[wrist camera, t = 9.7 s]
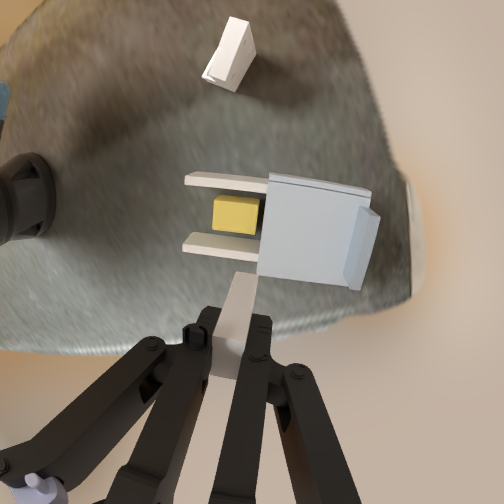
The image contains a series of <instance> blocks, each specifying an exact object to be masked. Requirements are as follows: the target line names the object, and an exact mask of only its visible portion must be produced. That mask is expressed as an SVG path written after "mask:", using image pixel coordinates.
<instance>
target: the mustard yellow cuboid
mask: <svg viewBox="0 0 504 504" xmlns="http://www.w3.org/2000/svg"><path fill="white" fill-rule="evenodd" d="M259 204H260V199H256V198H248V197H239V196H230V195H221V194H220V195H219V196H218V197H217V198H216V199H215V200H214V210H213V225H212V229H213V230H222V231H230V232H238V233H246V234H253V235H255V232H256V228H257V221H258V212H259Z"/></svg>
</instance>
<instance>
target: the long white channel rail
mask: <svg viewBox="0 0 504 504" xmlns="http://www.w3.org/2000/svg"><path fill="white" fill-rule="evenodd" d="M268 181H269V179H266V178H258V177H250V176H242V175H232V174H223V173H212V172H200V171H195V172H193V173H191V174H188V175H186V176H185V185H194V186H204V187H214V188H224V189H233V190H242V191H250V192H258V193H266V194H267V188H268ZM271 181H272V180H271ZM278 182H279V181H278ZM285 183H286V182H285ZM292 184H293V183H292ZM298 185H299V184H298ZM305 186H306V185H305ZM311 187H312V186H311ZM317 188H318V187H317ZM323 189H324V188H323ZM328 190H329V189H328ZM334 191H335V190H334ZM339 192H340V191H339ZM350 194H351V193H350ZM355 195H356V194H355ZM260 242H261V240H253V239H246V238H238V237H231V236H223V235H215V234H208V233H200V232H192V233H191V234H190V235H189V237H188V238H187V239H186V240H185V241H184V243H183V245H182V252H189V253H196V254H203V255H210V256H217V257H225V258H232V259H239V260H246V261H254V262H258V257H259V249H260Z"/></svg>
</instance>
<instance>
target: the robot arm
mask: <svg viewBox="0 0 504 504" xmlns="http://www.w3.org/2000/svg"><path fill="white" fill-rule="evenodd" d="M9 98H10V87H9V85H8V84H7V83H6V82H4V81H1V80H0V139H1V134H2V129H3V125H4V121H5V120H6V111H7V107H8V102H9ZM55 204H56V197H55V188H54V183H53V179H52V176H51V173H50V170H49V168H48V166H47V165H46V163H45V162H44V160H43V159H42V158H41V157H40V156H38V155H37V154H35V153H24V154H20V155H17V156H15V157H14V158H12V159H11V160H9V161H8V162H7V163H5V164H4V165H3V166H1V167H0V246H1V245H3V244H4V243H6V242H8V241H11V240H21V239H31V238H35V237H37V236H39V235H41V234H42V233H44V232H45V231H46V230H47V229H48V228H49V227H50V225H51V223H52V220H53V217H54V213H55ZM258 278H259V275H255V274H249V273H244V272H238V271H236V273H235V276H234V278H233V281H232V284H231V286H230V289H229V292H228V295H227V297H226V300H225V303H224V305H223V308H217V307H211V306H207V307H206V308H204V309H203V310H202V311H201V313H200V315H199V317H198V320H197V322H196V323H193V324H189V325H187V326H185V327H184V328H183V329H182V330H183V343H181V344H175V345H166V344H165V342H164V340H162V339H161V338H159V337H156V336H149V337H145V338H143V339H142V340H141V341H139V342H138V343H137V344H136V345H135V346H134V347H133V348H132V349H130V350H129V351H128V352H127V353H126V354H125V355H124V356H123V357H121V358H120V359H119V360H118V361H117V362H116V363H115V364H114V365H113V366H111V367H110V368H109V369H108V370H107V371H106V372H105V373H104V374H102V375H101V376H100V377H99V378H98V379H97V380H96V381H95V382H94V383H93V384H91V385H90V386H89V387H88V388H87V389H86V390H85V391H84V392H83V393H82V394H80V395H79V396H78V397H77V398H76V399H75V400H74V401H73V402H71V403H70V404H69V405H68V406H67V407H66V408H65V409H64V410H63V411H62V412H61V413H59V414H58V415H57V416H56V417H55V418H54V419H53V420H52V421H51V422H50V423H49V424H47V425H46V426H45V427H44V428H43V429H42V430H41V431H40V432H39V433H38V434H37V435H36V436H34V437H33V438H32V439H31V440H29V441H26V442H24V443H21V444H18V445H15V446H12V447H10V448H7V449H4V450H1V451H0V481H2V482H3V483H5V484H6V485H7V486H9V488H10V490H11V492H12V494H13V496H14V498H15V500H16V502H17V504H68V495H67V492H69V491H71V490H72V489H74V488H75V487H77V486H78V485H80V484H81V483H82V482H83V481H84V480H85V479H86V478H87V477H88V476H89V475H90V473H91V472H92V471H93V470H94V469H95V468H96V467H97V466H98V464H99V463H100V462H101V461H102V460H103V459H104V458H105V457H106V456H107V455H108V453H109V452H110V451H111V450H112V449H113V448H114V447H115V446H116V444H117V443H118V442H119V441H120V440H121V439H122V438H123V436H124V435H125V434H126V433H127V432H128V431H129V430H130V428H131V427H132V426H133V425H134V424H135V423H136V422H137V420H138V419H139V418H140V417H141V416H142V415H143V414H144V412H145V411H146V410H147V409H148V408H149V407H150V406H151V404H152V403H153V402H154V401H155V400H156V401H155V403H154V405H153V407H152V410H151V412H150V414H149V416H148V418H147V421H146V423H145V425H144V428H143V430H142V432H141V434H140V436H139V439H138V441H137V443H136V445H135V448H134V450H133V452H132V455H131V457H130V459H129V461H128V463H127V464H126V465H124V466H122V467H121V468H120V469H119V470H118V472H117V474H116V477H115V479H114V481H113V483H112V486H111V488H110V490H109V493H108V495H107V497H106V499H103V500H101V501H98V502H95V503H93V504H173V497H174V492H175V489H176V486H177V483H178V479H179V476H180V473H181V470H182V466H183V463H184V460H185V456H186V453H187V450H188V447H189V443H190V440H191V437H192V434H193V430H194V427H195V424H196V420H197V417H198V414H199V411H200V407H201V404H202V401H203V398H204V395H205V391H206V388H207V385H208V376H209V373H210V375H214V376H219V377H224V378H229V379H235V380H237V381H236V386H235V391H234V396H233V400H232V404H231V409H230V413H229V418H228V423H227V427H226V431H225V436H224V441H223V445H222V449H221V454H220V458H219V462H218V467H217V472H216V476H215V480H214V484H213V488H212V492H211V495H210V498H209V502H208V504H256V499H255V492H256V484H257V477H258V469H259V462H260V453H261V445H262V436H263V428H264V419H265V409H266V402H268V403H270V404H273V407H274V411H275V416H276V420H277V424H278V429H279V433H280V437H281V441H282V446H283V450H284V454H285V458H286V463H287V467H288V471H289V475H290V479H291V483H292V487H293V492H294V495H295V500H296V504H362V503H361V500H360V497H359V495H358V492H357V489H356V487H355V484H354V481H353V479H352V476H351V473H350V470H349V468H348V465H347V462H346V460H345V457H344V454H343V452H342V449H341V446H340V444H339V441H338V438H337V436H336V433H335V430H334V428H333V425H332V423H331V420H330V417H329V415H328V412H327V409H326V407H325V404H324V402H323V399H322V396H321V394H320V391H319V389H318V386H317V384H316V381H315V379H314V376H313V373H312V371H311V370H310V369H309V368H308V367H307V366H305V365H303V364H298V363H293V364H290V365H288V366H283V365H280V364H279V363H277V362H275V361H274V360H273V359H272V357H271V355H270V346H271V334H272V323H273V322H272V320H271V318H270V316H265V315H259V314H253V309H254V303H255V297H256V291H257V285H258Z"/></svg>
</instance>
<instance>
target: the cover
mask: <svg viewBox="0 0 504 504" xmlns="http://www.w3.org/2000/svg"><path fill="white" fill-rule="evenodd" d="M271 180H272V181H271ZM278 181H279V182H278ZM285 182H286V183H285ZM292 183H293V184H292ZM298 184H299V185H298ZM305 185H306V186H305ZM311 186H312V187H311ZM317 187H318V188H317ZM323 188H324V189H323ZM328 189H329V190H328ZM334 190H335V191H334ZM339 191H340V192H339ZM350 193H351V194H350ZM371 193H372V192H371V191H369V190H367V189H365V188H360V187H355V186H350V185H345V184H340V183H335V182H329V181H324V180H318V179H312V178H306V177H300V176H293V175H286V174H279V173H272V172H270V173H269V181H268V188H267V196H266V204H265V211H264V219H263V226H262V234H261V242H260V249H259V257H258V264H257V271H256V275H261V276H268V277H276V278H284V279H291V280H299V281H307V282H315V283H323V284H332V285H340V286H348V287H349V289H351V290H360V289H361V286H362V283H363V280H364V276H365V273H366V270H367V267H368V263H369V260H370V256H371V253H372V249H373V246H374V242H375V238H376V234H377V231H378V227H379V223H380V218H381V217H380V216H379V215H377V214H376V213H375V212H374V211H372V210H371V209H370V208H369V206H370V201H371ZM355 194H356V195H355ZM360 195H361V196H360ZM365 196H366V197H365ZM369 197H370V198H369Z"/></svg>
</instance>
